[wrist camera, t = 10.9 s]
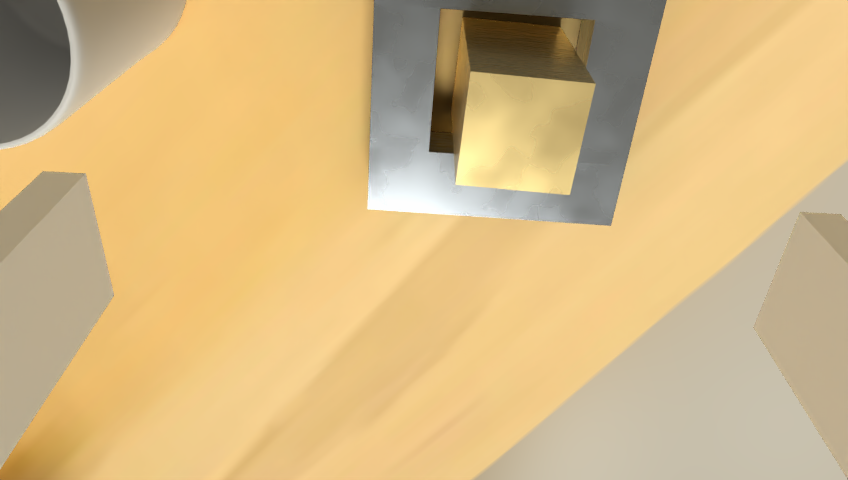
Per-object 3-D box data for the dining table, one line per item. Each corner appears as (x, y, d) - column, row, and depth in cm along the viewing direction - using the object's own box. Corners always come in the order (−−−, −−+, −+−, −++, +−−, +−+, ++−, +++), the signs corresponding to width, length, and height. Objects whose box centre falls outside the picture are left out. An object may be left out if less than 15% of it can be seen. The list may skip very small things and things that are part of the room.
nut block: (462, 16, 31) (470, 71, 24) (560, 26, 31) (595, 83, 24) (451, 110, 33) (455, 184, 26) (542, 119, 33) (569, 195, 27)
